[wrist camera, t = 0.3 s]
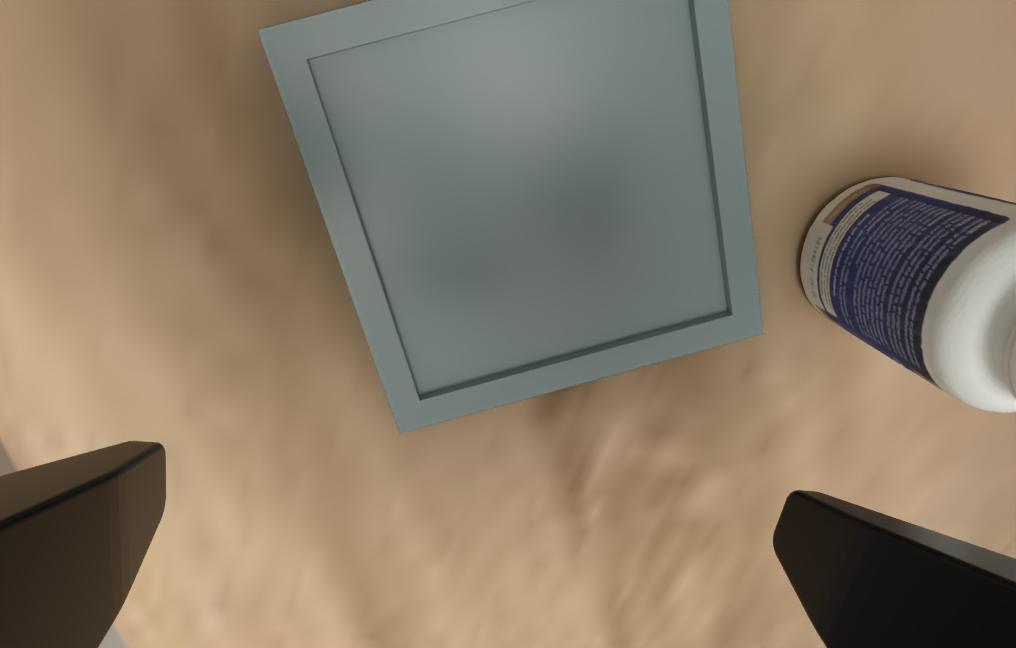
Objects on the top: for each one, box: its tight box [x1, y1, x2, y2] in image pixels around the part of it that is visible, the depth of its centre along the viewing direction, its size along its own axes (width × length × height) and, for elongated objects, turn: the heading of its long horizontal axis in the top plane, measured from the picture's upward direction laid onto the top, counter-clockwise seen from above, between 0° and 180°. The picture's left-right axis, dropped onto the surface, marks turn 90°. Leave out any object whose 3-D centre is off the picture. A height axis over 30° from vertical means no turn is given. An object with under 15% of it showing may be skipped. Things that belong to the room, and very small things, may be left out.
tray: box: [258, 0, 763, 434], centre depth 21 cm, size 13×13×1 cm
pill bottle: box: [800, 177, 1016, 412], centre depth 19 cm, size 5×5×10 cm
